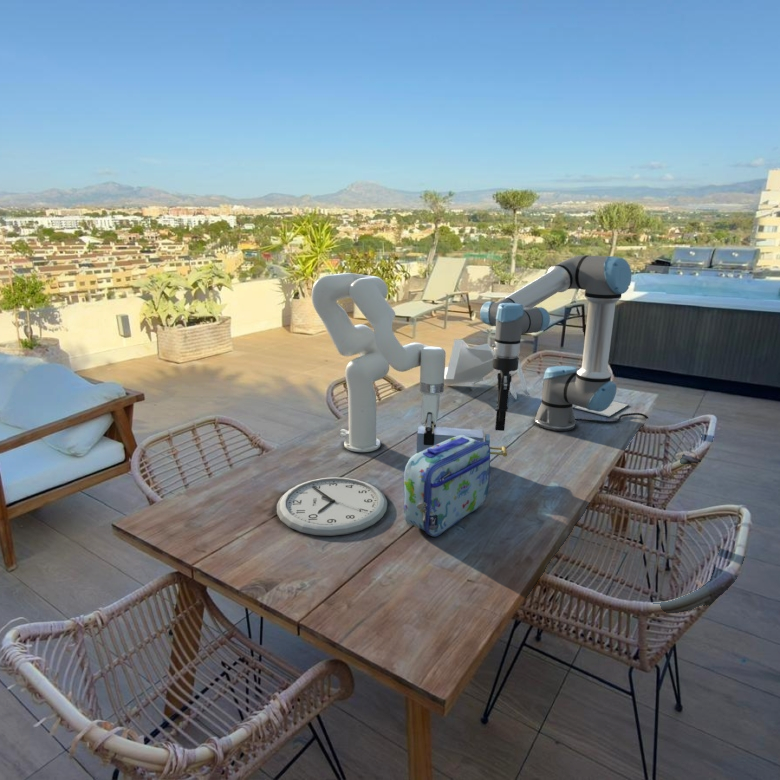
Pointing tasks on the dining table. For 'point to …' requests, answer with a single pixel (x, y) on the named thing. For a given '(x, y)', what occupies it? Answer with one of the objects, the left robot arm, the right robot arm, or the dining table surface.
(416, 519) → the lunch box
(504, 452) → the drawer
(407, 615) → the dining table surface
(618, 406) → the invitation card
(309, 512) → the wall clock
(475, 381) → the white plastic object
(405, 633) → the dining table surface
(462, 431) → the cabinet
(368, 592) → the dining table surface
